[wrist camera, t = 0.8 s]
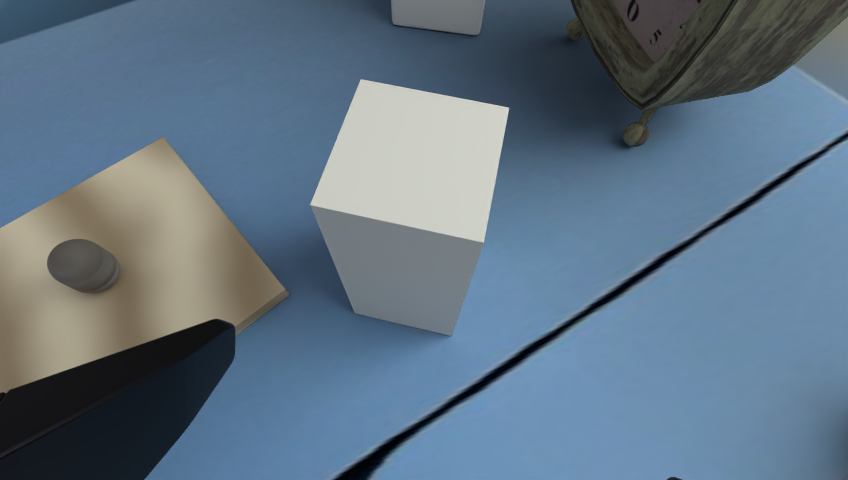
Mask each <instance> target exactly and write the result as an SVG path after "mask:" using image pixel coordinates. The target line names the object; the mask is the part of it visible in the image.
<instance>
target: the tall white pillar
mask: <svg viewBox="0 0 848 480" xmlns="http://www.w3.org/2000/svg"><path fill="white" fill-rule="evenodd" d="M508 112H509V108H508V107H503V106H498V105H493V104H487V103H482V102H477V101H472V100H467V99H461V98H456V97H451V96H446V95H440V94H435V93H430V92H425V91H420V90H414V89H409V88H404V87H399V86H393V85H388V84H383V83H378V82H373V81H367V80H362V79H361V80H360V83H359V85H358V88H357V90H356V93H355V95H354V98H353V100H352V103H351V105H350V108H349V110H348V113H347V115H346V117H345V120H344V122H343V125H342V127H341V130H340V132H339V135H338V137H337V140H336V142H335V145H334V147H333V150H332V152H331V155H330V157H329V160H328V162H327V165H326V167H325V170H324V172H323V175H322V177H321V179H320V182H319V184H318V187H317V189H316V192H315V194H314V197H313V199H312V202H311V204H310V206H311V208H312V211H313V213H314V216H315V218H316V220H317V223H318V225H319V228H320V230H321V233H322V235H323V237H324V240H325V242H326V245H327V247H328V250H329V252H330V254H331V257H332V259H333V262H334V264H335V267H336V269H337V271H338V274H339V276H340V279H341V281H342V284H343V286H344V288H345V291H346V293H347V296H348V298H349V301H350V303H351V306H352V308H353V310H354V313H355V314H359V315H364V316H368V317H372V318H376V319H381V320H385V321H389V322H393V323H398V324H402V325H406V326H410V327H415V328H419V329H423V330H427V331H432V332H436V333H440V334H445V335H449V336H452V334H453V331H454V328H455V325H456V322H457V319H458V316H459V313H460V311H461V308H462V305H463V302H464V299H465V296H466V293H467V290H468V287H469V284H470V281H471V278H472V276H473V273H474V270H475V267H476V264H477V261H478V258H479V255H480V252H481V249H482V246H483V243H484V239H485V234H486V228H487V223H488V218H489V212H490V207H491V202H492V197H493V191H494V186H495V181H496V175H497V170H498V165H499V159H500V154H501V149H502V144H503V138H504V133H505V128H506V122H507V117H508Z"/></svg>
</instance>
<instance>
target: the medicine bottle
mask: <svg viewBox="0 0 848 480" xmlns="http://www.w3.org/2000/svg"><path fill="white" fill-rule="evenodd" d="M484 5H485V0H391V8H392V22H393V24H395V25H399V26H407V27H414V28H422V29H430V30H438V31H445V32H453V33H461V34H468V35H478V34H479V33H480V30H481V24H482V18H483V11H484Z"/></svg>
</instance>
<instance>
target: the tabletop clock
mask: <svg viewBox="0 0 848 480" xmlns="http://www.w3.org/2000/svg"><path fill="white" fill-rule="evenodd" d="M571 3H572V6H573V9H574V11H575V14H576V16H577V18H575V19H573V20H571V21H570V22H569V23H568V25H567V27H566V34H567V36H568V38H570V39H571V40H579V39H581V38H582V37H584V36H585V35H586V37H587V39H588V41H589V43H590V45H591V47H592V49H593V51H594V53H595V55H596V56H597V58H598V59H599V61H600V62H601V64H602V65H603V67H604V68H605V70H606V71H607V73H608V74H609V76H610V77H611V79H612V80H613V82H614V83H615V85H616V86H617V88H618V89H619V91H620V92H621V93H622V94H623V95H624V97H625V98H626V99H627V100H628V101H629V102H631V103H632V104H634V105H635V106H637V107H638V108H639V109H641V110H644V109H645V110H644V112H643V114H642V116H641V118H640V120H639V122H634V123H631V124H630V125H628V126H627V128H626V129H625V130H624V132H623V139H624V141H625V143H626V144H628V145H629V146H635V147H637V146H640V145H642V144H644V142H645V141H646V140H647V139H648V136H649V130H648V127H647V126H646V124H647V123H648V121H649V120H650V119H651V117H652V116H653V114H654V113H655V112H656V110H657V109H658V108H659V107H662V106H668V105H673V104H679V103H685V102H691V101H696V100H702V99H708V98H714V97H719V96H725V95H731V94H737V93H742V92H748V91H751V90H753V89H755V88H757V87H759V86H762V85H764V84H766V83H768V82H770V81H771V80H773V79H774V78H776V77H777V76H779V75H780V74H782V73H783V72H784V71H786V70H787V69H788V68H790V67H791V66H792V65H794V64H795V63H796V62H797V61H799V60H800V59H801V58H802V57H803V56H804V55H805V54H806V53H807V52H809V51H810V50H811V49H812V48H813V47H814V46H815V45H816V44H818V43H819V42H820V41H821V40H822V39H823V38H824V37H825V36H826V35H828V34H829V33H830V32H831V31H832V30H833V29H834V28H835V27H836V26H837V25H839V24H840V23H841V22H842V21H843V20H844V19H845V18H847V16H848V0H571Z"/></svg>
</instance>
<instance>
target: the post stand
mask: <svg viewBox="0 0 848 480" xmlns="http://www.w3.org/2000/svg"><path fill="white" fill-rule="evenodd" d="M289 295H290V294H289V293H288V292H287V291H286V289H285V288H284V287H283V285H282V284H281V283H280V282H279V280H278V279H277V278H276V277H275V275H274V274H273V273H272V272H271V271H270V269H269V268H268V267H267V266H266V264H265V263H264V262H263V261H262V259H261V258H260V257H259V256H258V254H257V253H256V252H255V251H254V249H253V248H252V247H251V246H250V244H249V243H248V242H247V241H246V239H245V238H244V237H243V236H242V234H241V233H240V232H239V231H238V229H237V228H236V227H235V226H234V224H233V223H232V222H231V221H230V219H229V218H228V217H227V216H226V214H225V213H224V212H223V211H222V209H221V208H220V207H219V206H218V204H217V203H216V202H215V201H214V199H213V198H212V197H211V196H210V194H209V193H208V192H207V191H206V189H205V188H204V187H203V186H202V185H201V183H200V182H199V181H198V180H197V178H196V177H195V176H194V175H193V173H192V172H191V171H190V170H189V168H188V167H187V166H186V165H185V163H184V162H183V161H182V160H181V158H180V157H179V156H178V155H177V153H176V152H175V151H174V150H173V148H172V147H171V146H170V145H169V143H168V142H167V141H166V140H165V138H164V137H162V138H161V139H159V140H157V141H155V142H153V143H152V144H150V145H148V146H146V147H144V148H143V149H141V150H139V151H137V152H136V153H134V154H132V155H130V156H128V157H127V158H125V159H123V160H121V161H119V162H118V163H116V164H114V165H112V166H111V167H109V168H107V169H105V170H103V171H102V172H100V173H98V174H96V175H94V176H93V177H91V178H89V179H87V180H85V181H84V182H82V183H80V184H78V185H77V186H75V187H73V188H71V189H69V190H68V191H66V192H64V193H62V194H60V195H59V196H57V197H55V198H53V199H52V200H50V201H48V202H46V203H44V204H43V205H41V206H39V207H37V208H35V209H34V210H32V211H30V212H28V213H27V214H25V215H23V216H21V217H19V218H18V219H16V220H14V221H12V222H10V223H9V224H7V225H5V226H3V227H1V228H0V393H1V392H5V393H7V392H8V390H10V389H13V388H16V387H19V386H22V385H25V384H27V383H30V382H33V381H36V380H39V379H42V378H45V377H48V376H50V375H53V374H56V373H59V372H62V371H65V370H68V369H71V368H74V367H76V366H79V365H82V364H85V363H88V362H91V361H94V360H97V359H99V358H102V357H105V356H108V355H111V354H114V353H117V352H120V351H122V350H125V349H128V348H131V347H134V346H137V345H140V344H143V343H146V342H148V341H151V340H154V339H157V338H160V337H163V336H166V335H169V334H171V333H174V332H177V331H180V330H183V329H186V328H189V327H192V326H194V325H197V324H200V323H203V322H206V321H209V320H212V319H221V320H224V321H227V322H229V323H232V324H233V325H234V326H235V329H236V335H238V334H239V333H240V332H242V331H243V330H244V329H246V328H247V327H248V326H250V325H251V324H252V323H254V322H255V321H256V320H258V319H259V318H260V317H262V316H263V315H264V314H266V313H267V312H268V311H269V310H271V309H272V308H273V307H275V306H276V305H277V304H279V303H280V302H281V301H283V300H284V299H285V298H287V297H288V296H289ZM236 335H235V336H236Z"/></svg>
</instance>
